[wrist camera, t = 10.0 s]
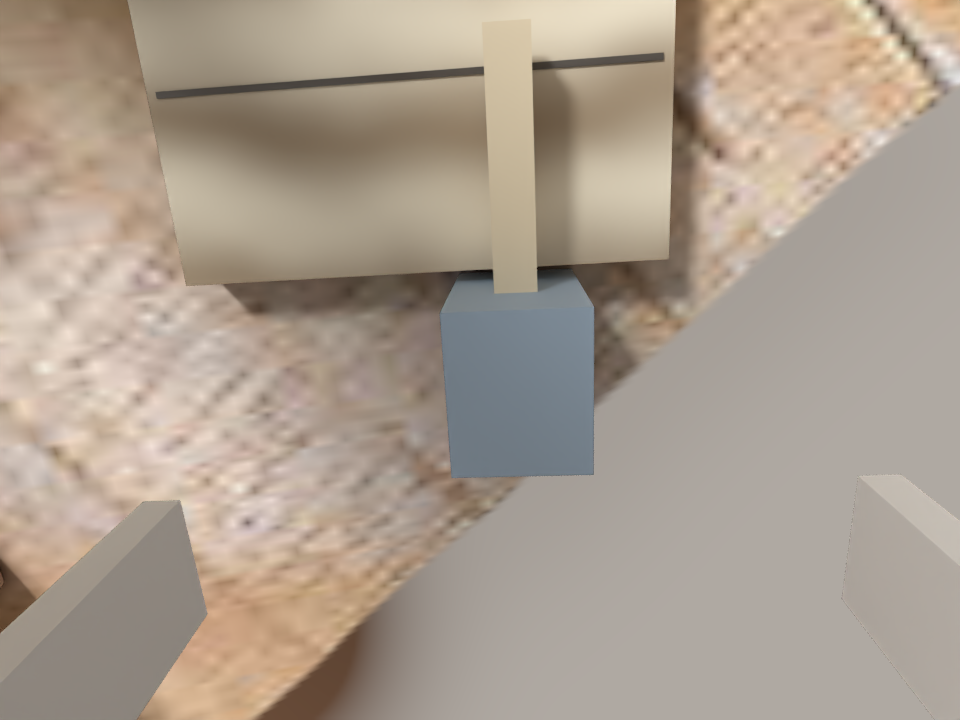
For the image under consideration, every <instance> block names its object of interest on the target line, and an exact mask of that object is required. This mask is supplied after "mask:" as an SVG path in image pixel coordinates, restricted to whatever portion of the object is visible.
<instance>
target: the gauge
mask: <svg viewBox="0 0 960 720" xmlns="http://www.w3.org/2000/svg"><path fill="white" fill-rule="evenodd" d="M482 36H483V58H484V80H485V102H486V124H487V146H488V168H489V191H490V213H491V235H492V257H493V272H484V273H461V274H459V276H458V278H457V280H456V282H455V284H454V286H453V288H452V290H451V292H450V294H449V296H448V298H447V300H446V302H445V304H444V306H443V307H442V309H441V311H440V324H441V338H442V352H443V366H444V379H445V393H446V407H447V421H448V435H449V448H450V462H451V476H452V478H471V477H516V476H560V475H593V474H594V306H593V304H592V302H591V301H590V299H589V297H588V296H587V294H586V292H585V291H584V289H583V288H582V286H581V284H580V283H579V281H578V279H577V278H576V276H575V274H574V273H573V271H572V269H554V270H537V249H536V207H535V166H534V124H533V82H532V41H531V19H521V20H506V21H492V22H482Z"/></svg>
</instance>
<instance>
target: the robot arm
mask: <svg viewBox="0 0 960 720" xmlns="http://www.w3.org/2000/svg"><path fill="white" fill-rule="evenodd" d="M842 600H843V601H844V602H845V604H846V605H847V606H848V608H849V609H850V610H851V612H852V613H853V614H854V616H855V617H856V618H857V619H858V621H859V622H860V623H861V625H862V626H863V627H864V629H865V630H866V631H867V632H868V634H869V635H870V636H871V637H872V639H873V640H874V642H875V643H876V644H877V645H878V647H879V648H880V649H881V651H882V652H883V653H884V655H885V656H886V657H887V658H888V660H889V661H890V662H891V664H892V665H893V666H894V667H895V669H896V670H897V672H898V673H899V674H900V675H901V677H902V678H903V679H904V681H905V682H906V683H907V684H908V686H909V687H910V688H911V690H912V691H913V692H914V694H915V695H916V696H917V697H918V699H919V700H920V701H921V703H922V704H923V705H924V707H925V708H926V709H927V711H928V712H929V713H930V714H931V716H932V717H933V718H934V720H960V521H959V520H958V519H957V518H955V517H954V516H953V515H952V514H951V513H949V512H948V511H947V510H945V509H944V508H943V507H942V506H940V505H939V504H938V503H937V502H935V501H934V500H933V499H932V498H930V497H929V496H927V495H926V494H925V493H924V492H922V491H921V490H920V489H919V488H918V487H916V486H915V485H914V484H912V483H911V482H910V481H909V480H907V479H906V478H905V477H904V476H902V475H901V474H897V475H896V474H894V475H867V476H858V481H857V488H856V496H855V503H854V511H853V518H852V525H851V533H850V540H849V548H848V556H847V563H846V570H845V578H844V586H843V593H842ZM206 615H207V610H206V606H205V602H204V597H203V593H202V589H201V585H200V581H199V577H198V573H197V568H196V564H195V560H194V556H193V552H192V548H191V544H190V539H189V535H188V531H187V527H186V523H185V519H184V515H183V510H182V506H181V502H180V500H173V501H145V502H142V503H141V504H140V505H139V506H138V507H137V508H136V509H135V510H134V511H132V512H131V513H130V514H129V515H128V516H127V517H126V518H125V519H124V520H123V521H122V522H121V523H119V524H118V525H117V526H116V527H115V528H114V529H113V530H112V531H111V532H110V533H109V534H107V535H106V536H105V537H104V538H103V539H102V540H101V541H100V542H99V543H98V544H97V545H96V546H94V547H93V548H92V549H91V550H90V551H89V552H88V553H87V554H86V555H85V556H84V557H82V558H81V559H80V560H79V561H78V562H77V563H76V564H75V565H74V566H73V567H72V568H71V569H69V570H68V571H67V572H66V573H65V574H64V575H63V576H62V577H61V578H60V579H59V580H57V581H56V582H55V583H54V584H53V585H52V586H51V587H50V588H49V589H48V590H47V591H45V592H44V593H43V594H42V595H41V596H40V597H39V598H38V599H37V600H36V601H35V602H34V603H32V604H31V605H30V606H29V607H28V608H27V609H26V610H25V611H24V612H23V613H22V614H20V615H19V616H18V617H17V618H16V619H15V620H14V621H13V622H12V623H11V624H10V625H9V626H7V627H6V628H5V629H4V630H3V631H2V632H1V633H0V720H137V718H138V717H139V715H140V714H141V712H142V711H143V709H144V708H145V706H146V705H147V703H148V702H149V700H150V699H151V697H152V696H153V694H154V693H155V691H156V690H157V688H158V687H159V685H160V684H161V682H162V681H163V680H164V678H165V677H166V675H167V674H168V672H169V671H170V669H171V668H172V666H173V665H174V663H175V662H176V660H177V659H178V657H179V656H180V654H181V653H182V651H183V650H184V648H185V647H186V645H187V644H188V642H189V641H190V639H191V638H192V636H193V635H194V633H195V632H196V630H197V629H198V627H199V626H200V624H201V623H202V621H203V620H204V618H205V617H206Z"/></svg>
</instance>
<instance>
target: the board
mask: <svg viewBox="0 0 960 720" xmlns="http://www.w3.org/2000/svg"><path fill="white" fill-rule="evenodd" d="M127 1H128V6H129V11H130V15H131V20H132V25H133V30H134V35H135V40H136V45H137V49H138V54H139V59H140V64H141V69H142V74H143V79H144V83H145V88H146V93H147V98H148V103H149V108H150V113H151V117H152V122H153V127H154V132H155V137H156V142H157V146H158V151H159V156H160V161H161V166H162V171H163V176H164V180H165V185H166V190H167V195H168V200H169V205H170V210H171V214H172V219H173V224H174V229H175V234H176V239H177V244H178V248H179V253H180V258H181V263H182V268H183V273H184V277H185V282H186V286H195V285H213V284H231V283H249V282H267V281H285V280H303V279H321V278H339V277H357V276H375V275H393V274H411V273H429V272H447V271H465V270H484V269H493V257H492V235H491V213H490V191H489V168H488V146H487V124H486V102H485V80H484V58H483V36H482V22H492V21H506V20H521V19H531V41H532V82H533V124H534V166H535V207H536V249H537V267H538V266H556V265H574V264H592V263H610V262H628V261H646V260H664V259H669V236H670V200H671V163H672V126H673V90H674V53H675V17H676V0H127Z"/></svg>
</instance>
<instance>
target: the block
mask: <svg viewBox="0 0 960 720" xmlns="http://www.w3.org/2000/svg"><path fill="white" fill-rule="evenodd" d="M3 583H4V580H3V577H2V574H1V572H0V588H1V586H2V585H3Z"/></svg>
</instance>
